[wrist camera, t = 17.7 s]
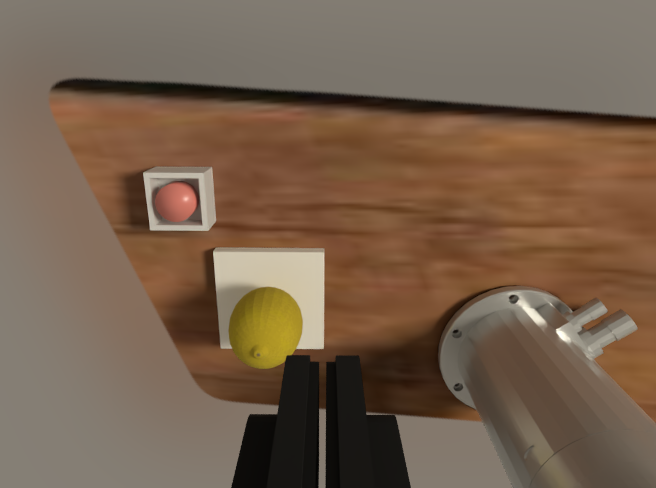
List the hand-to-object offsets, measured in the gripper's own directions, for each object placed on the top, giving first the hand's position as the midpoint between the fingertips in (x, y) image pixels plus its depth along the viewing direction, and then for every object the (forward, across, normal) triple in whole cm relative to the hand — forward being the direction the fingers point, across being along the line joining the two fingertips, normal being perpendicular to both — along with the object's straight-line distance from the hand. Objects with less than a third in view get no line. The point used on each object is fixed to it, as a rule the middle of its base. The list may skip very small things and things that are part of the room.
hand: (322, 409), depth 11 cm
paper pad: (+27, +5, +10) cm, 29 cm away
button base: (+27, +11, +1) cm, 29 cm away
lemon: (+26, +4, +10) cm, 29 cm away
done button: (+26, +11, +1) cm, 28 cm away
